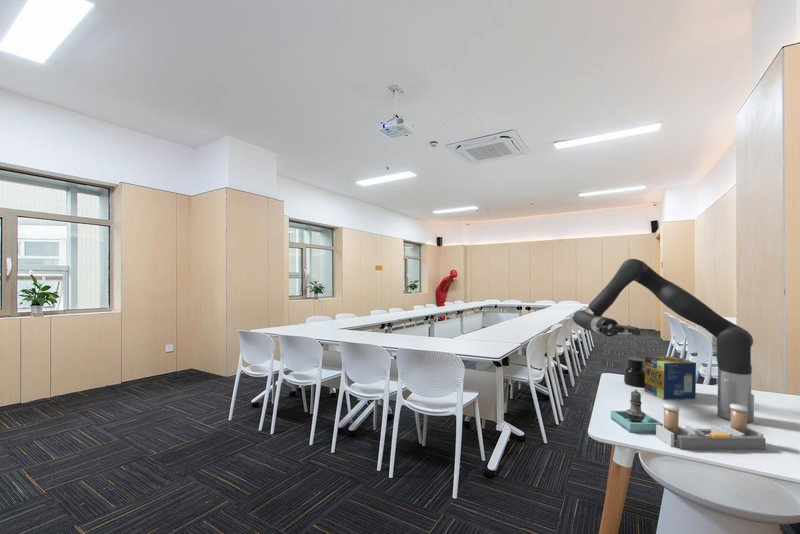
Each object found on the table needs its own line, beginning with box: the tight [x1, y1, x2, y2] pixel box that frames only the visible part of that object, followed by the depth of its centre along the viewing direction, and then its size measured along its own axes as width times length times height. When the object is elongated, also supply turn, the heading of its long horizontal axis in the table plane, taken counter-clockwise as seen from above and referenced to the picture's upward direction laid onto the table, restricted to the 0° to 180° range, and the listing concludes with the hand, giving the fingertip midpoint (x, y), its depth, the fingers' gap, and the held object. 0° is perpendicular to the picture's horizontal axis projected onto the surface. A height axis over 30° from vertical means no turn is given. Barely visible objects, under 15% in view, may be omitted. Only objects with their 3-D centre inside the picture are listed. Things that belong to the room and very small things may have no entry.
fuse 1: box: [662, 402, 680, 444], centre depth 118 cm, size 4×4×11 cm
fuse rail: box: [654, 424, 766, 451], centre depth 118 cm, size 29×12×4 cm, turn 90°
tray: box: [610, 410, 664, 434], centre depth 128 cm, size 11×11×3 cm
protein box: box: [644, 356, 697, 400], centre depth 160 cm, size 10×15×16 cm
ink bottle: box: [623, 356, 645, 388], centre depth 174 cm, size 10×9×12 cm
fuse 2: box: [730, 404, 748, 436], centre depth 118 cm, size 4×4×11 cm
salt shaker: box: [625, 388, 647, 423], centre depth 128 cm, size 6×6×12 cm
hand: (627, 332), depth 142 cm, fingers open, 8 cm apart
